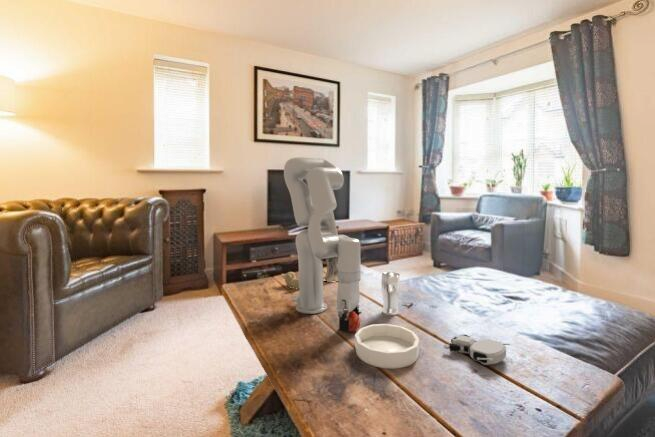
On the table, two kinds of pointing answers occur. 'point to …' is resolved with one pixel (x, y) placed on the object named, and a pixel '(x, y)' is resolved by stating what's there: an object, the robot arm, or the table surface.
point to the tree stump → (331, 269)
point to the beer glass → (390, 292)
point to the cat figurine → (291, 279)
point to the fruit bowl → (387, 346)
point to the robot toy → (479, 349)
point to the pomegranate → (353, 321)
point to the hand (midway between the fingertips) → (349, 325)
